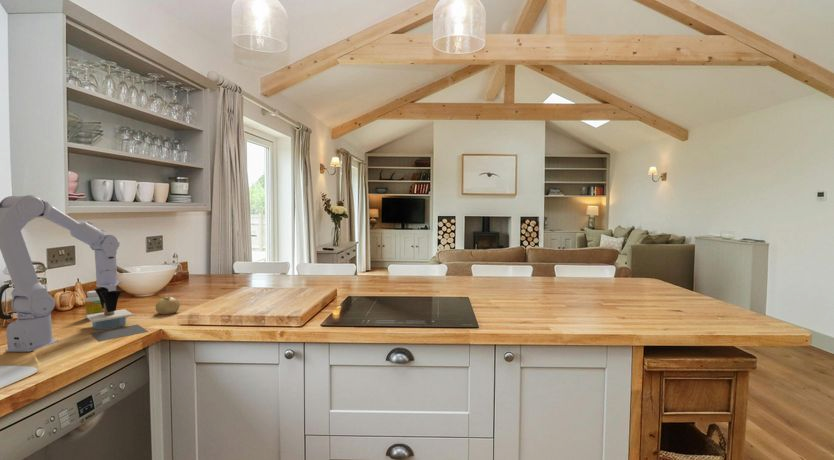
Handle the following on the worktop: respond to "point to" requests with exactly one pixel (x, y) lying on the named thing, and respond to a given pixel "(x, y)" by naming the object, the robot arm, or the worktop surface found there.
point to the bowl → (109, 323)
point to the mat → (118, 332)
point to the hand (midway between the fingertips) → (108, 309)
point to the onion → (167, 305)
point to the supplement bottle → (93, 303)
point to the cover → (108, 315)
